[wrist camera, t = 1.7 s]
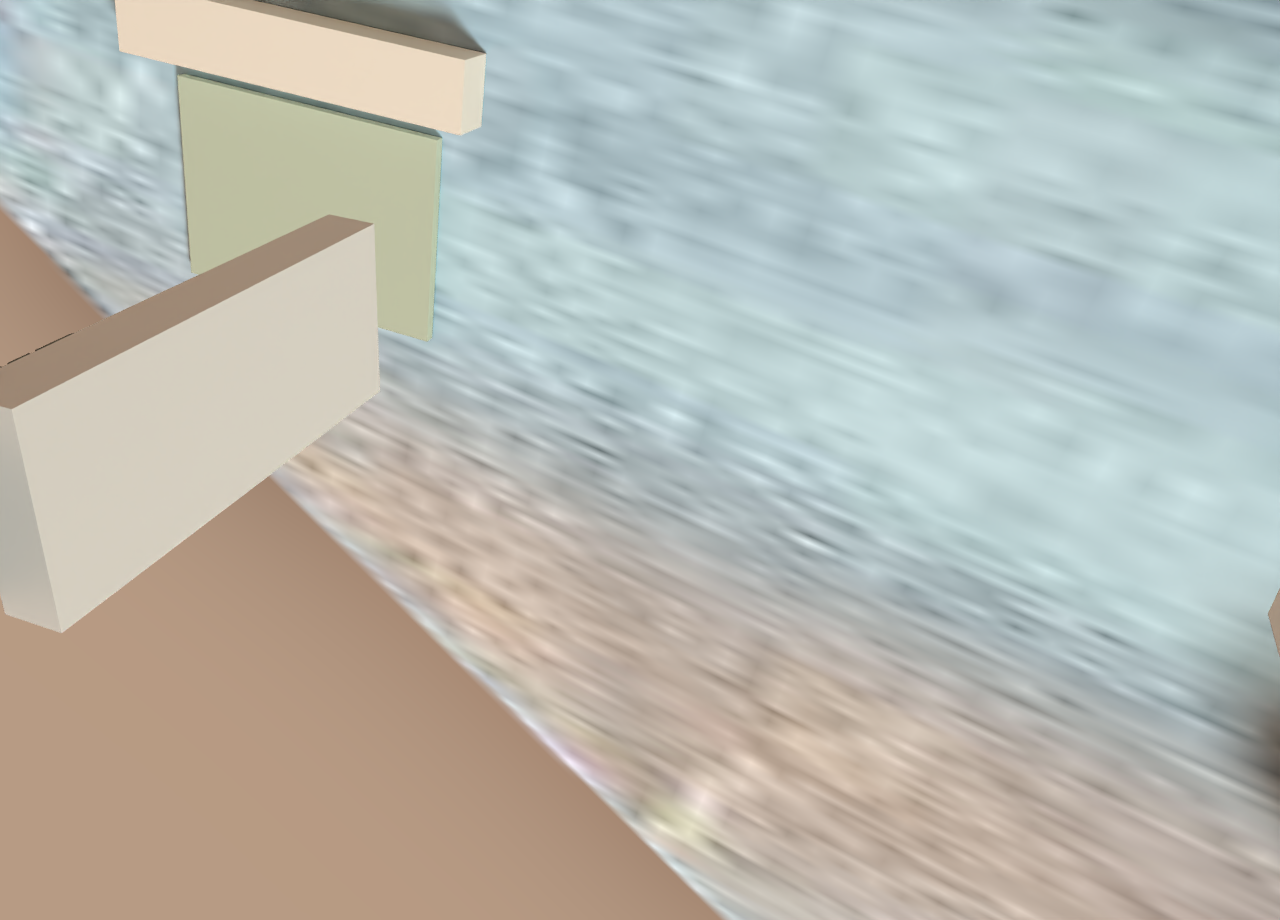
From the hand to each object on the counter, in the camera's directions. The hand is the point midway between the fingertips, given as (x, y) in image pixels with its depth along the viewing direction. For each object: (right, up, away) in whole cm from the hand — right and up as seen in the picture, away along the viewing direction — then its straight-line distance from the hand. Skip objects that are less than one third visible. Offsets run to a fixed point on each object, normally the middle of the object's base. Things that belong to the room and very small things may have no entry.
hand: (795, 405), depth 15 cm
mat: (-15, +9, +28) cm, 33 cm away
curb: (-14, +14, +25) cm, 32 cm away
